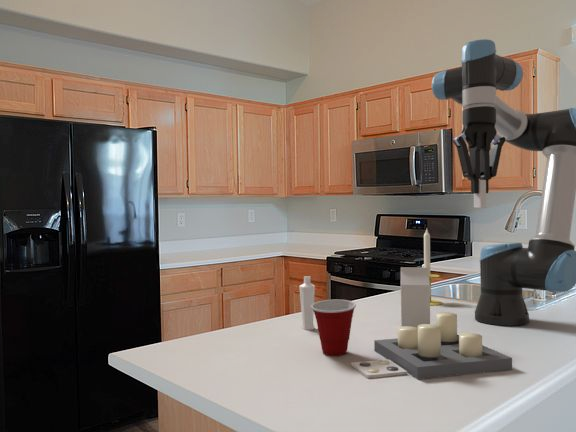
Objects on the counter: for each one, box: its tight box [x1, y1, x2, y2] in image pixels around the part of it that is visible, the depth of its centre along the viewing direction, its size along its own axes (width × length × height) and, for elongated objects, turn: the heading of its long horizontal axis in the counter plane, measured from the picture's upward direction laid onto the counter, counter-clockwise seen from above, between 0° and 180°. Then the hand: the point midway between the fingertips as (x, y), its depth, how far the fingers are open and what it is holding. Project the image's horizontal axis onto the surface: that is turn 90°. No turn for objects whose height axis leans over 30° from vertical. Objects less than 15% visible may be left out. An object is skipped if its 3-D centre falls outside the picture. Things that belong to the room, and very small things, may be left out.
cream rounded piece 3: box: [397, 326, 418, 349], centre depth 123 cm, size 5×5×6 cm
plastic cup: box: [311, 298, 357, 357], centre depth 126 cm, size 11×11×12 cm
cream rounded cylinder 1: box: [435, 311, 458, 342], centre depth 125 cm, size 5×5×6 cm
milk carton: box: [400, 266, 431, 328], centre depth 136 cm, size 7×7×19 cm
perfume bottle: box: [298, 275, 316, 331], centre depth 151 cm, size 5×4×15 cm
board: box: [373, 334, 513, 380], centre depth 119 cm, size 22×22×2 cm
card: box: [351, 359, 408, 379], centre depth 112 cm, size 9×9×1 cm
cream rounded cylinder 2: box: [458, 332, 483, 358], centre depth 115 cm, size 5×5×6 cm
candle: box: [423, 228, 443, 307], centre depth 186 cm, size 10×10×27 cm
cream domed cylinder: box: [418, 323, 441, 357], centre depth 113 cm, size 5×5×6 cm
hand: (479, 207), depth 124 cm, fingers closed
